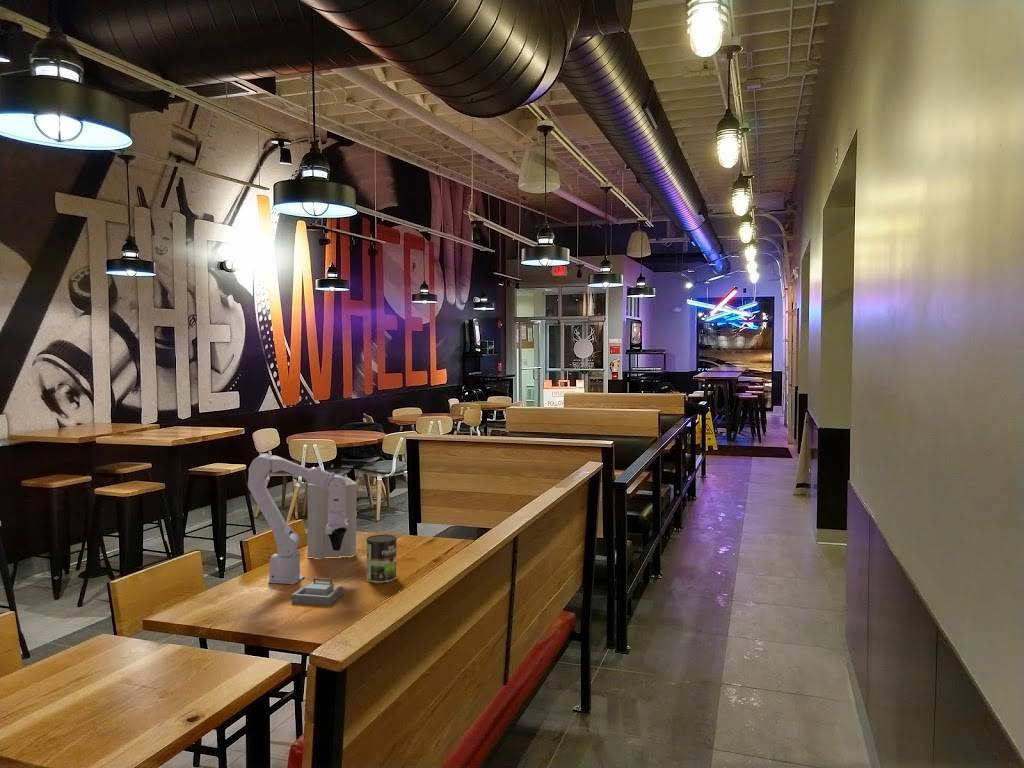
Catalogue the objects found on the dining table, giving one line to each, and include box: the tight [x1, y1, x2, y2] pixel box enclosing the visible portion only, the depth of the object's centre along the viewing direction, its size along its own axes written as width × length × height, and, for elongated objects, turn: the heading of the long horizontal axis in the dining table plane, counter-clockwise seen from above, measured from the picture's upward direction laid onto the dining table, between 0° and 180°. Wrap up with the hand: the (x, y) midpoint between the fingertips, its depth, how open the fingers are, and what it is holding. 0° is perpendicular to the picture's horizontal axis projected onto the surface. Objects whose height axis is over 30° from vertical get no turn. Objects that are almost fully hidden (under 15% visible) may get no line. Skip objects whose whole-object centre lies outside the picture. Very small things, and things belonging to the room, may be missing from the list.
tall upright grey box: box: [307, 476, 358, 558], centre depth 266 cm, size 19×15×28 cm
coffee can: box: [365, 534, 398, 584], centre depth 237 cm, size 10×10×14 cm
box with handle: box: [305, 577, 335, 596], centre depth 218 cm, size 7×6×5 cm
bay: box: [291, 583, 344, 606], centre depth 217 cm, size 12×10×2 cm
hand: (336, 550), depth 237 cm, fingers closed
